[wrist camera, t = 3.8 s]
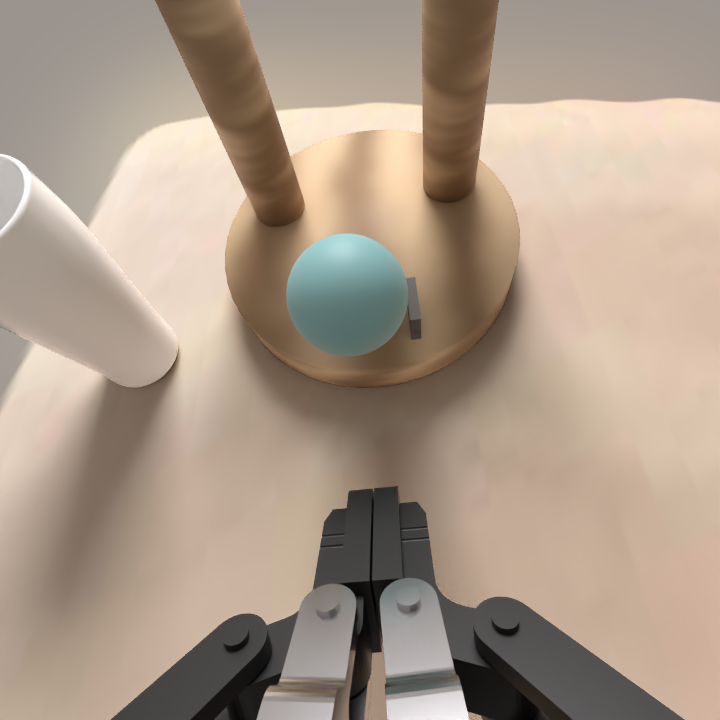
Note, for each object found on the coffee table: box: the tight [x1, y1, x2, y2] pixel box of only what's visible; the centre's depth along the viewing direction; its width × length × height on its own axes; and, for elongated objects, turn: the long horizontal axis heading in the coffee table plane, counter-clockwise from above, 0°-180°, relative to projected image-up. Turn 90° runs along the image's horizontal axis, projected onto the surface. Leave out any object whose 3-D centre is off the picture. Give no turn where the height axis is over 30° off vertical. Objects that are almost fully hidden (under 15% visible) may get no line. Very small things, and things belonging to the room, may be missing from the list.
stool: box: [155, 0, 520, 387], centre depth 25 cm, size 20×20×20 cm
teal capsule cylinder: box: [286, 233, 408, 357], centre depth 20 cm, size 4×4×17 cm
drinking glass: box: [0, 154, 178, 388], centre depth 27 cm, size 7×7×15 cm
